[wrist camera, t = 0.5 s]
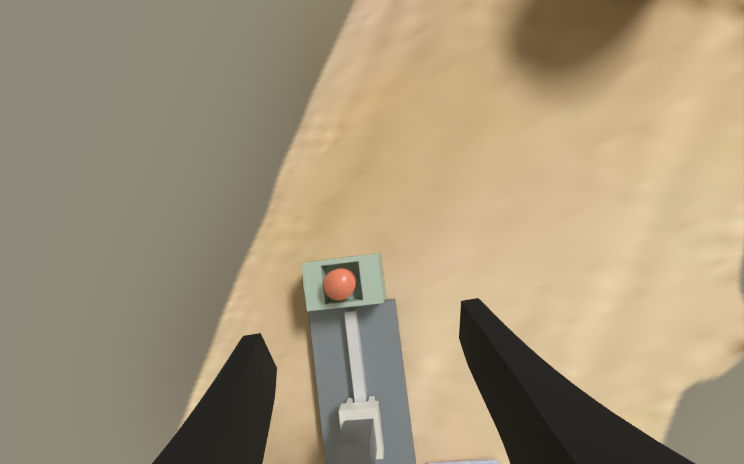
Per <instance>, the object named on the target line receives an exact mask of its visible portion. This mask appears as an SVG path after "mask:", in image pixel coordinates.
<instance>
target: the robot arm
mask: <svg viewBox="0 0 744 464" xmlns="http://www.w3.org/2000/svg"><path fill="white" fill-rule="evenodd" d="M459 340H460V343H461V346H462V349H463V352H464V355H465V358H466V361H467V364H468V366H469V369H470V371H471V373H472V375H473V378H474V380H475V382H476V384H477V386H478V389H479V391H480V393H481V395H482V397H483V399H484V402H485V404H486V406H487V408H488V410H489V413H490V415H491V417H492V419H493V421H494V423H495V426H496V428H497V430H498V432H499V435H500V437H501V440H502V442H503V444H504V447H505V450H506V453H507V455H508V458H509V461H510V464H695V463H693V462H691V461H690V460H688V459H686V458H685V457H683V456H681V455H680V454H678V453H676V452H675V451H673V450H671V449H669V448H668V447H666V446H665V445H663V444H661V443H660V442H658V441H656V440H655V439H653V438H652V437H650V436H648V435H647V434H645V433H644V432H642V431H641V430H639V429H638V428H636V427H635V426H633V425H632V424H630V423H628V422H627V421H625V420H624V419H622V418H621V417H619V416H618V415H616V414H615V413H613V412H612V411H610V410H609V409H607V408H606V407H604V406H603V405H602V404H600V403H599V402H597V401H596V400H595V399H593V398H592V397H590V396H589V395H588V394H586V393H585V392H583V391H582V390H581V389H579V388H578V387H577V386H575V385H574V384H573V383H571V382H570V381H569V380H568V379H566V378H565V377H564V376H563V375H561V374H560V373H559V372H558V371H556V370H555V369H554V368H553V367H551V366H550V365H549V364H548V363H547V362H545V361H544V360H543V359H542V358H541V357H540V356H538V355H537V354H536V353H535V352H534V351H533V350H532V349H530V348H529V347H528V346H527V345H526V344H525V343H524V342H523V341H522V340H521V339H519V338H518V337H517V336H516V335H515V334H514V333H513V332H512V331H511V330H510V329H509V328H508V327H507V326H506V325H505V324H504V323H503V322H502V321H501V320H500V319H499V318H498V317H497V316H496V315H495V314H494V313H493V312H492V311H491V310H490V309H489V308H488V307H487V306H486V305H485V304H484V303H483V302H482V301H481V300H480V299H478V298H476V299H470V300H464V301H461V313H460V330H459ZM276 375H277V367H276V365H275V363H274V361H273V359H272V356H271V354H270V352H269V350H268V348H267V346H266V344H265V342H264V339H263V337H262V335H261V333H259V334H252V335H246V336H243V337H242V338H241V340H240V341H239V343H238V344H237V346H236V348H235V349H234V351H233V352H232V354H231V355H230V357H229V358H228V360H227V362H226V363H225V365H224V366H223V368H222V369H221V371H220V372H219V374H218V375H217V377H216V378H215V380H214V381H213V383H212V384H211V386H210V387H209V389H208V390H207V392H206V393H205V395H204V396H203V397H202V399H201V400H200V402H199V403H198V405H197V406H196V407H195V409H194V410H193V411H192V413H191V414H190V415H189V417H188V418H187V420H186V421H185V422H184V424H183V425H182V426H181V428H180V429H179V430H178V432H177V433H176V434H175V436H174V437H173V438H172V439H171V441H170V442H169V443H168V445H167V446H166V447H165V448H164V450H163V451H162V452H161V453H160V455H159V456H158V457H157V458H156V460H155V461H154V462H153V463H152V464H262V462H263V457H264V452H265V447H266V442H267V437H268V431H269V426H270V421H271V416H272V410H273V405H274V399H275V389H276ZM427 464H499V463H498V461H497V460H495V459H486V460H469V461H451V462H433V463H427Z"/></svg>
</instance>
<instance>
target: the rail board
mask: <svg viewBox="0 0 744 464" xmlns="http://www.w3.org/2000/svg"><path fill="white" fill-rule="evenodd" d="M309 320H310V329H311V338H312V347H313V356H314V365H315V374H316V383H317V392H318V401H319V410H320V419H321V428H322V437H323V446H324V455H325V464H338V459H337V450H336V444H337V441H338V438H339V435H340V432H341V428H340V419H339V409H340V406H341V404H342V403H346V402H347V399H348V398H353V400H354V403H355V402H368V400H369V396H375V401H378V402H379V411H380V419H381V427H382V435H383V444H384V456H383V459H376V461H375V464H416V459H415V451H414V443H413V435H412V427H411V420H410V412H409V404H408V396H407V388H406V380H405V372H404V364H403V357H402V349H401V341H400V333H399V325H398V317H397V309H396V301H395V299H386V300H384V303H380V304H371V305H361V306H352V307H343V308H333V309H324V310H315V311H309Z"/></svg>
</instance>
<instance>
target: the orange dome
mask: <svg viewBox="0 0 744 464" xmlns="http://www.w3.org/2000/svg"><path fill="white" fill-rule="evenodd" d="M323 285H324V290H325V292H326V294H327V295H328V296H329V297H330V298H332V299H334V300H343V299H346V298H347V297H349V296H350V295H351V294H352V293H353V292H354V291H355V289H356V287H357V278H356V275H355V274H354V272H353V271H351V270H350V269H348V268H339V269H336V270H333V271H331V272H329V273H328V274H327V276H326V277H325V279H324V284H323Z"/></svg>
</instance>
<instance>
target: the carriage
mask: <svg viewBox="0 0 744 464" xmlns="http://www.w3.org/2000/svg"><path fill="white" fill-rule="evenodd" d="M339 419H340V428H341V432H340V435H339V438H338V441H337V444H336V450H337V459H338V464H375V461H376V459H383V456H384V444H383V435H382V427H381V419H380V411H379V402H378V401H375V396H369V400H368V402H355V403H354V400H353V398H348V399H347V402H346V403H342V404H341V406H340V409H339Z"/></svg>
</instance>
